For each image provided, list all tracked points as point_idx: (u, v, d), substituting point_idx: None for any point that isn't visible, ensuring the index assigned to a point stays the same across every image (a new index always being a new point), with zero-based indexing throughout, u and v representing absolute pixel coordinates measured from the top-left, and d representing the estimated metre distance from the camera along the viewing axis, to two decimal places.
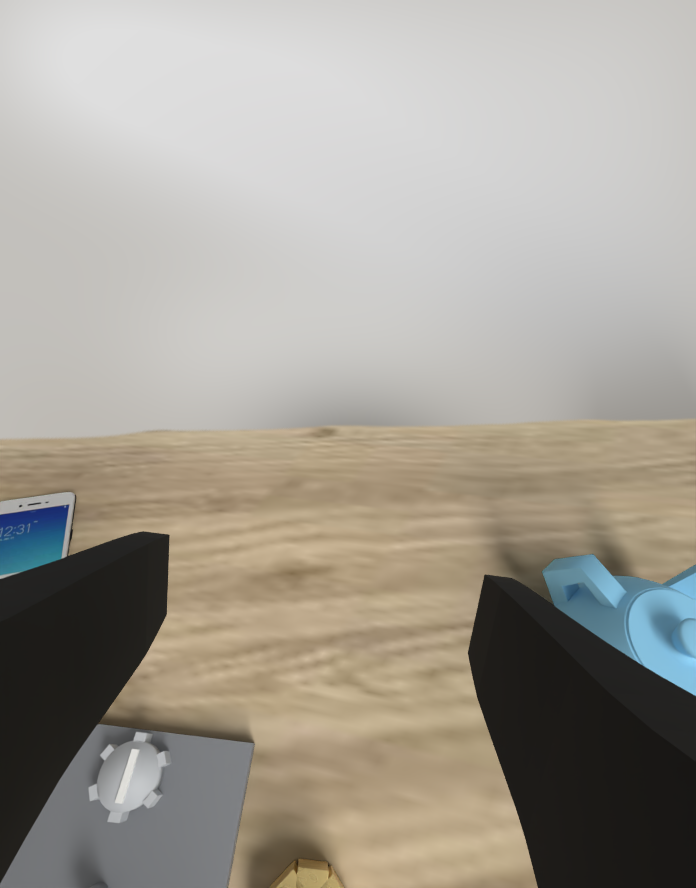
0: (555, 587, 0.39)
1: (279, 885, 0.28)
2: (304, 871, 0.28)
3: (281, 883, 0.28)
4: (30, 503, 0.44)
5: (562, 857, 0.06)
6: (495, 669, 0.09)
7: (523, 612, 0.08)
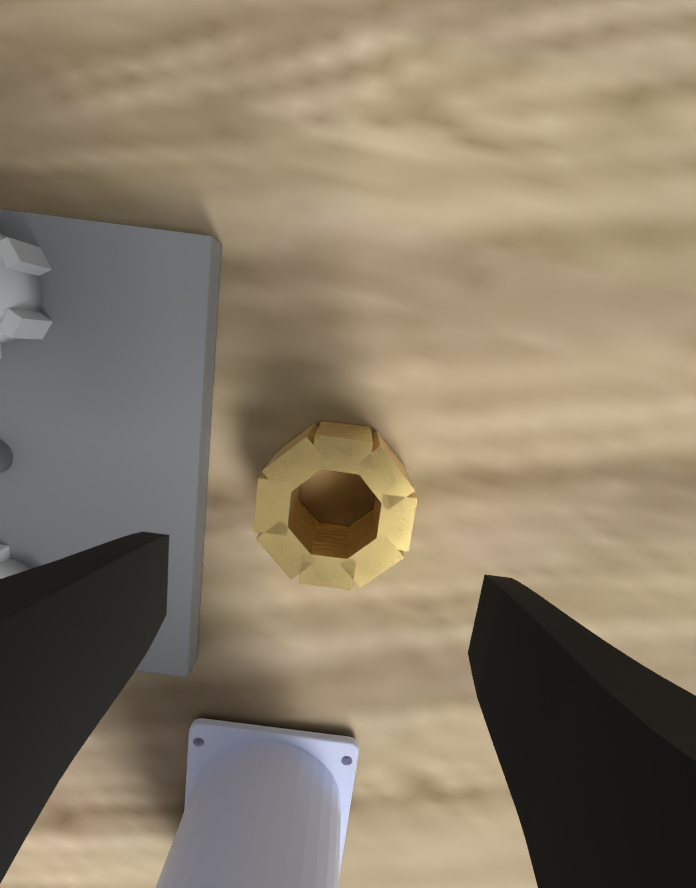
0: None
1: (282, 457, 0.15)
2: (326, 441, 0.15)
3: (285, 454, 0.15)
4: None
5: (562, 857, 0.06)
6: (495, 669, 0.09)
7: (523, 612, 0.08)
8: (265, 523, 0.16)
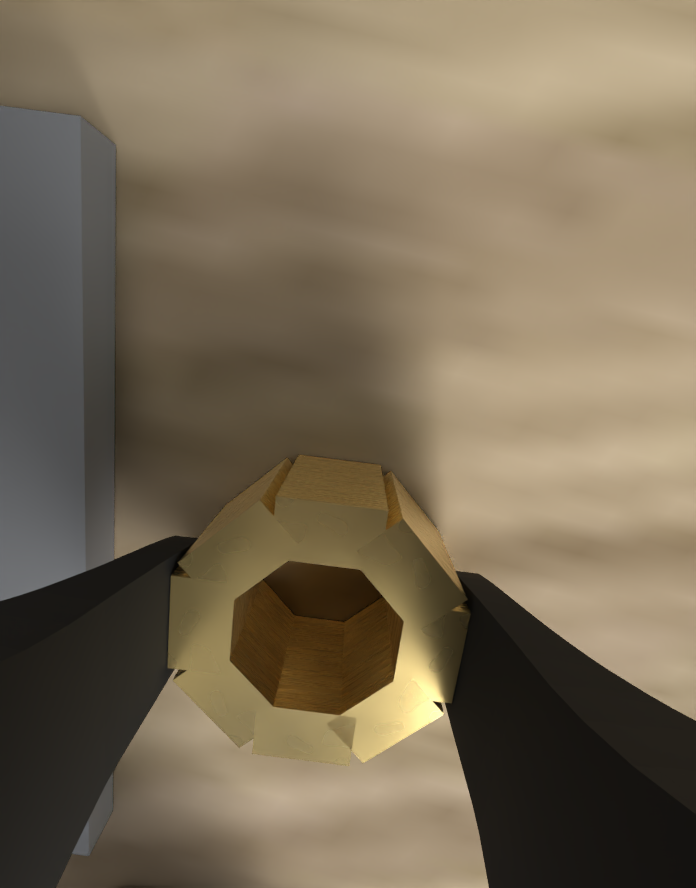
0: None
1: (215, 537, 0.08)
2: (298, 508, 0.08)
3: (221, 533, 0.08)
4: None
5: (508, 850, 0.06)
6: None
7: (481, 607, 0.08)
8: (188, 654, 0.08)
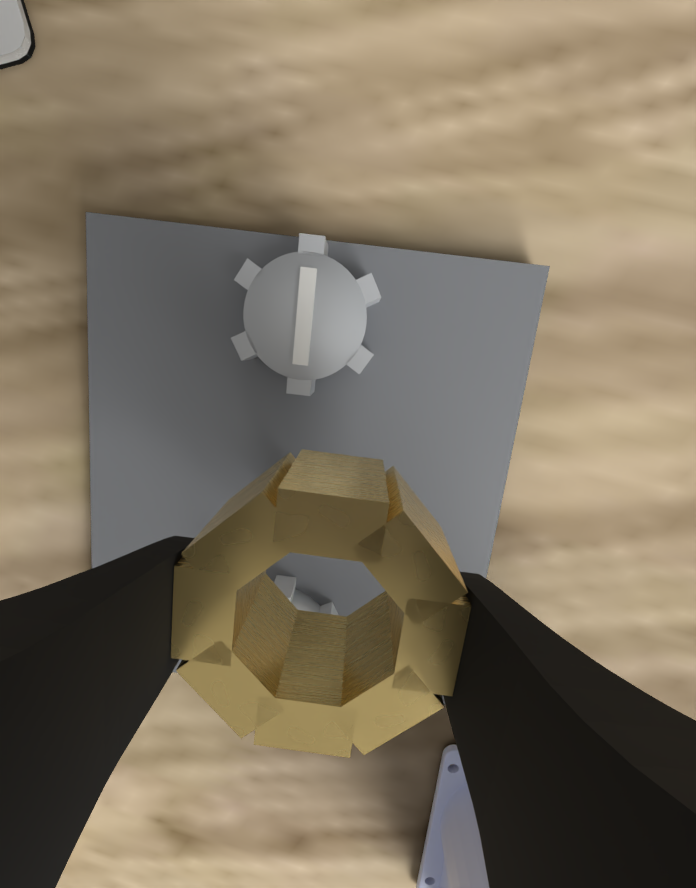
0: None
1: (218, 528, 0.08)
2: (300, 500, 0.08)
3: (224, 524, 0.08)
4: None
5: (508, 850, 0.06)
6: None
7: (482, 607, 0.08)
8: (191, 644, 0.09)
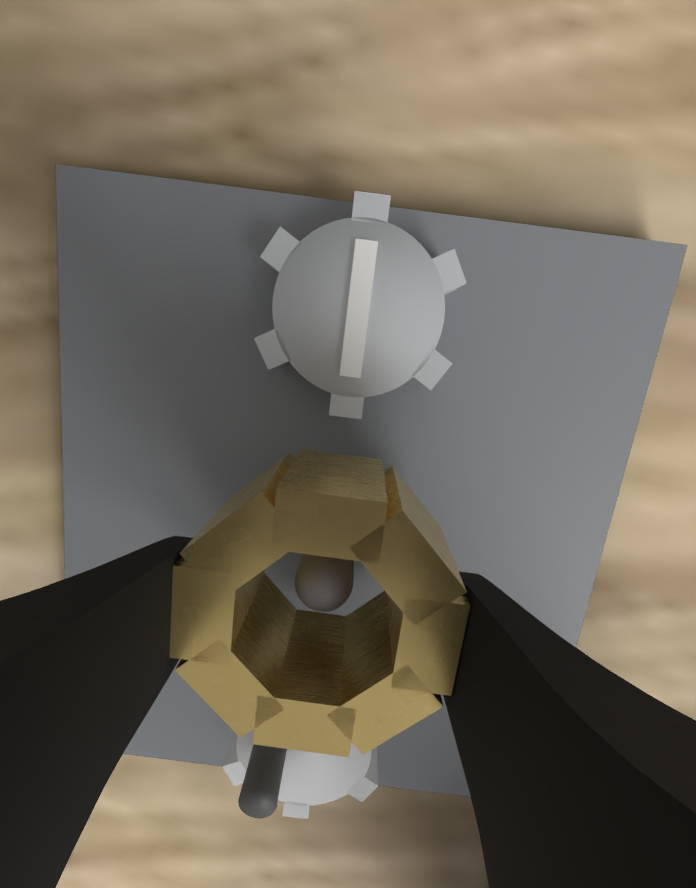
0: None
1: (217, 528, 0.08)
2: (299, 500, 0.08)
3: (223, 524, 0.08)
4: None
5: (508, 850, 0.06)
6: (458, 664, 0.09)
7: (481, 607, 0.08)
8: (190, 644, 0.09)
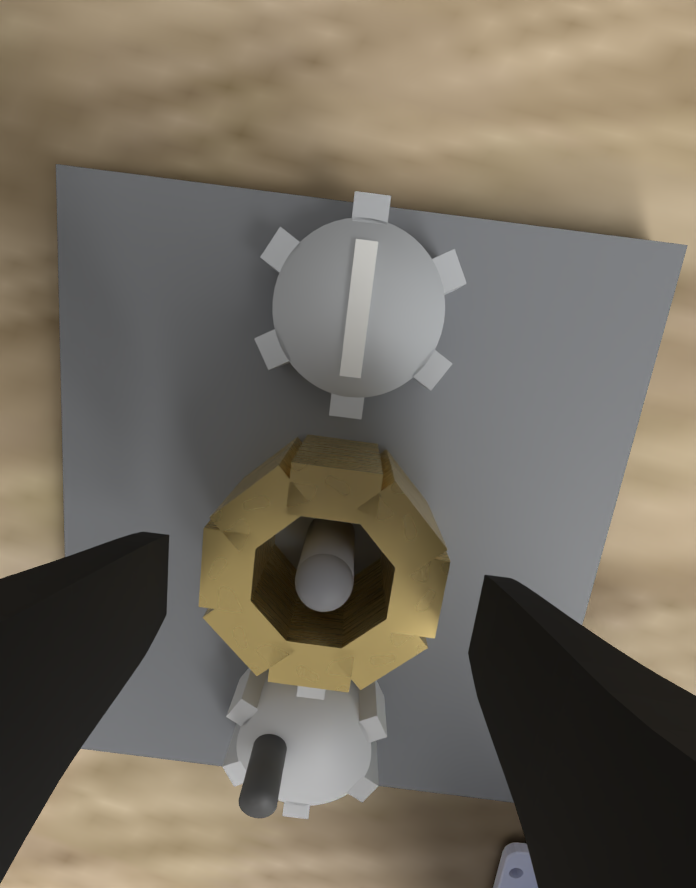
0: None
1: (241, 496, 0.10)
2: (309, 472, 0.09)
3: (246, 492, 0.10)
4: None
5: (562, 857, 0.06)
6: (495, 669, 0.09)
7: (523, 612, 0.08)
8: (216, 595, 0.10)
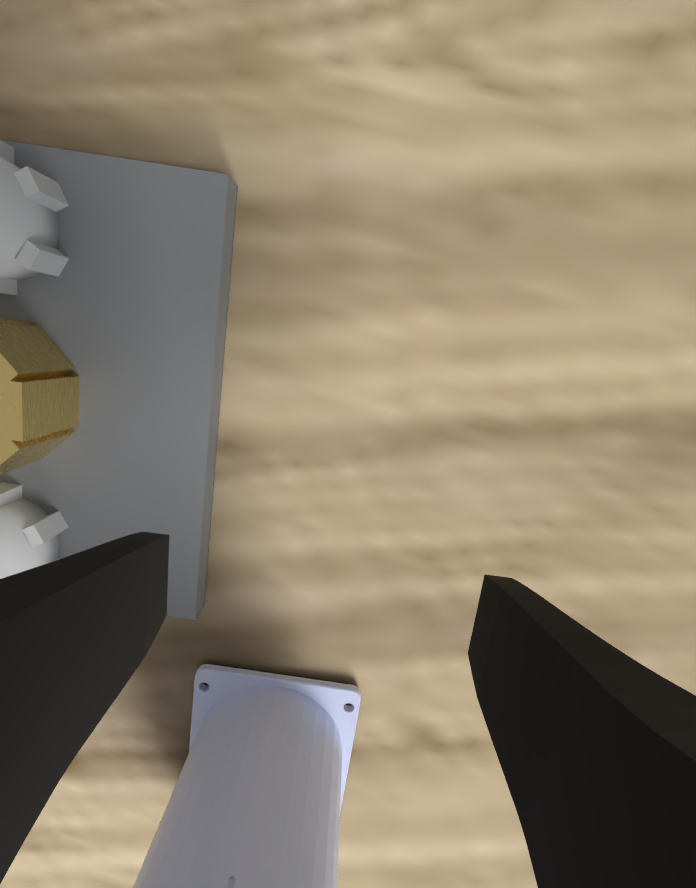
0: None
1: None
2: None
3: None
4: None
5: (562, 857, 0.06)
6: (495, 669, 0.09)
7: (523, 612, 0.08)
8: None
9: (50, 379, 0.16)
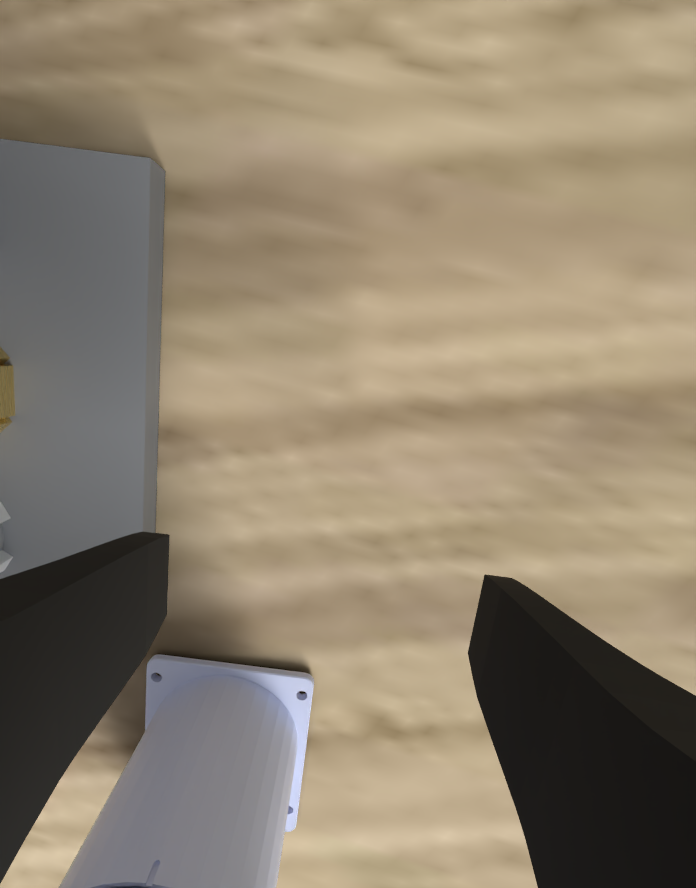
0: None
1: None
2: None
3: None
4: None
5: (562, 857, 0.06)
6: (495, 669, 0.09)
7: (523, 612, 0.08)
8: None
9: None
